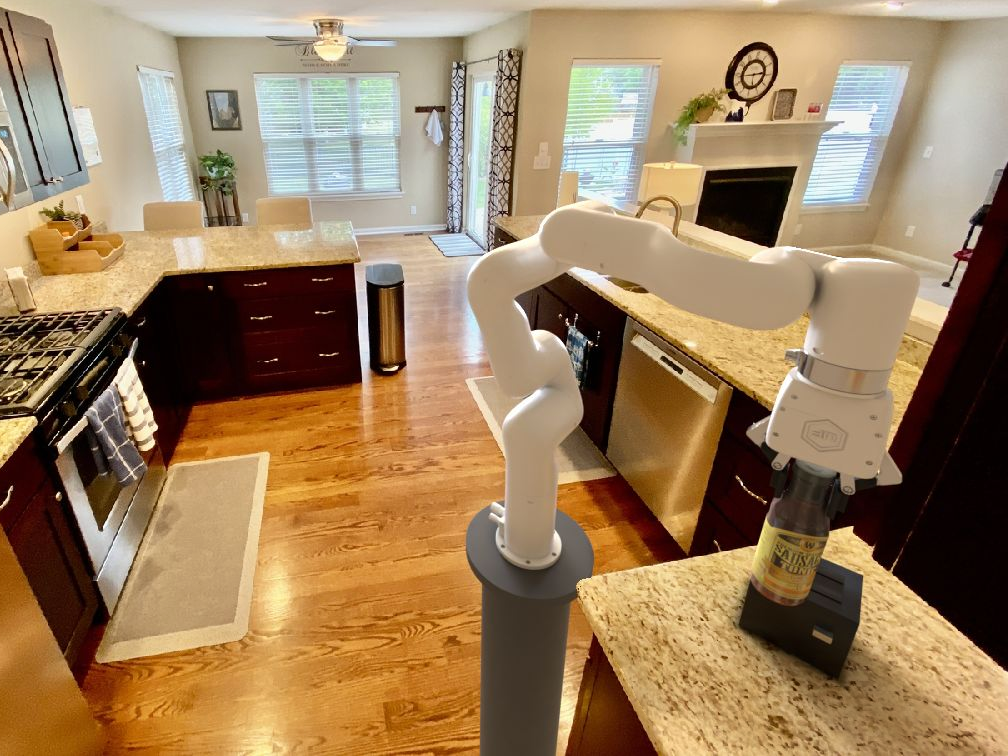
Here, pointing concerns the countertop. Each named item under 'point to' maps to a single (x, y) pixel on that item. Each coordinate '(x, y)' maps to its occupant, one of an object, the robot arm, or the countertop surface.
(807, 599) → the toaster
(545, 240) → the robot arm
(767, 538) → the sauce bottle
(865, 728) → the countertop surface
